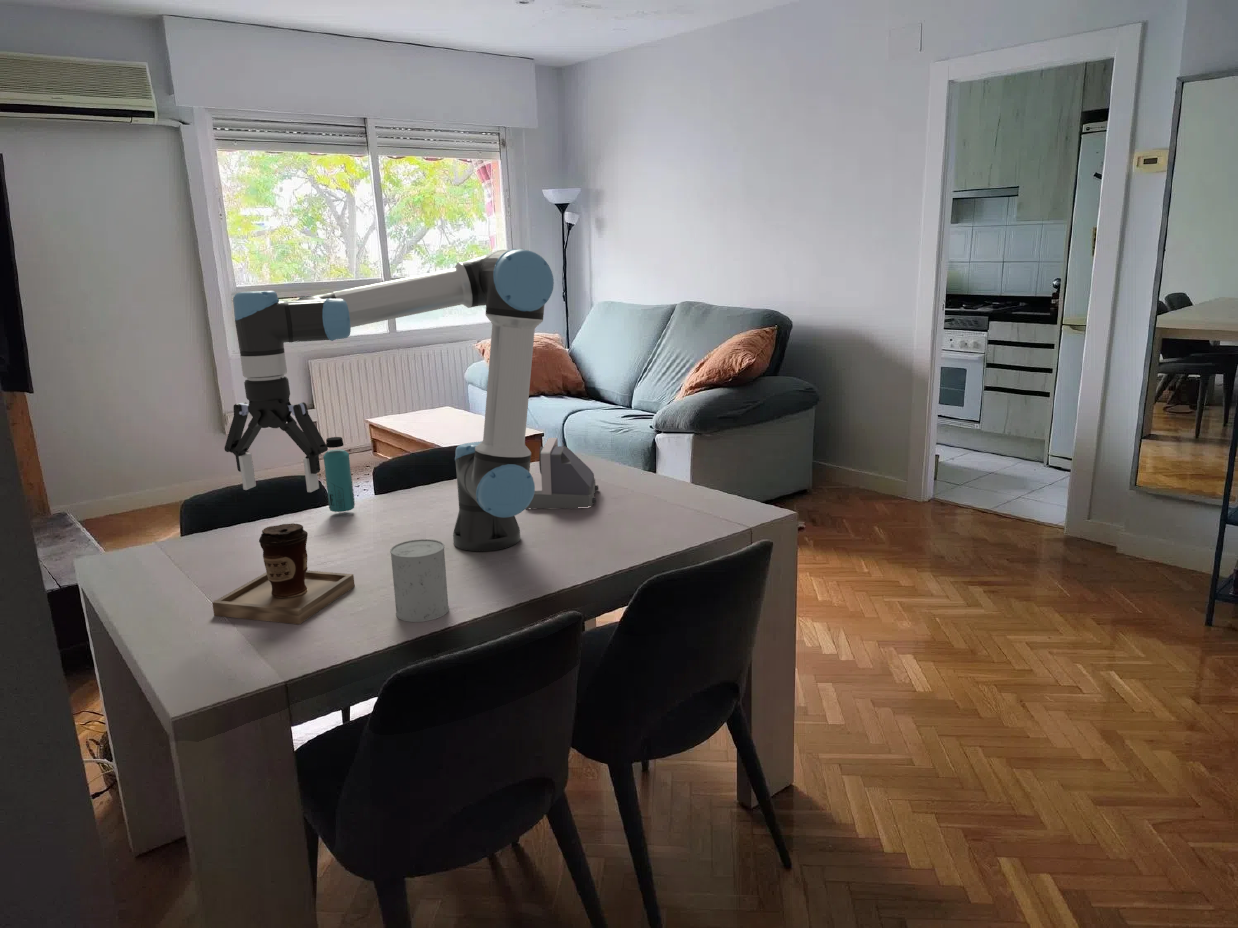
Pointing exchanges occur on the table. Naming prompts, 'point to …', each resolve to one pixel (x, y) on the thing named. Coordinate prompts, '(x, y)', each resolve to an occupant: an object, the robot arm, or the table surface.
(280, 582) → the coffee cup
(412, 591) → the white speckled cylinder
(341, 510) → the beverage bottle
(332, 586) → the tray
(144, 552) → the table surface
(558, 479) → the instant camera
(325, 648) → the table surface
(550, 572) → the table surface
